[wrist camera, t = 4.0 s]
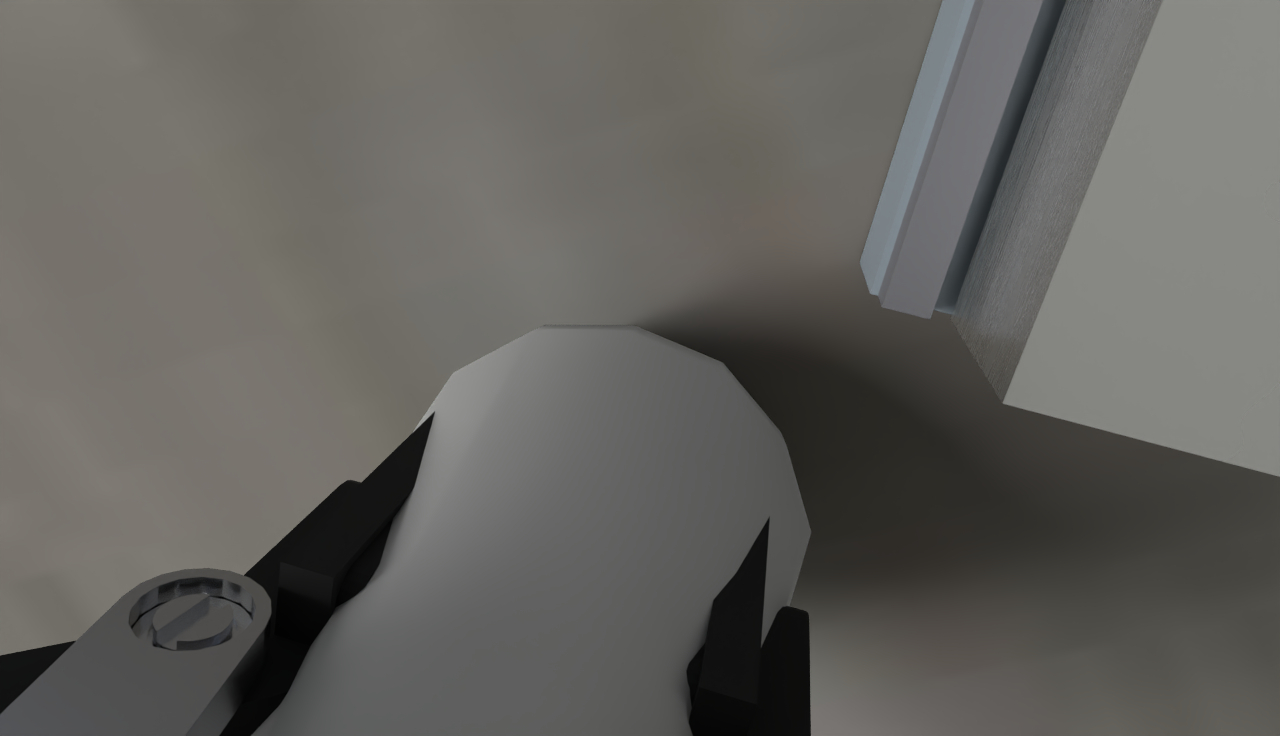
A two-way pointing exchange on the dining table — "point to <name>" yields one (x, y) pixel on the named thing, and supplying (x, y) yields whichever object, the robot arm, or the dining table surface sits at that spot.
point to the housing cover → (1142, 231)
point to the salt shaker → (559, 548)
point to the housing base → (954, 149)
